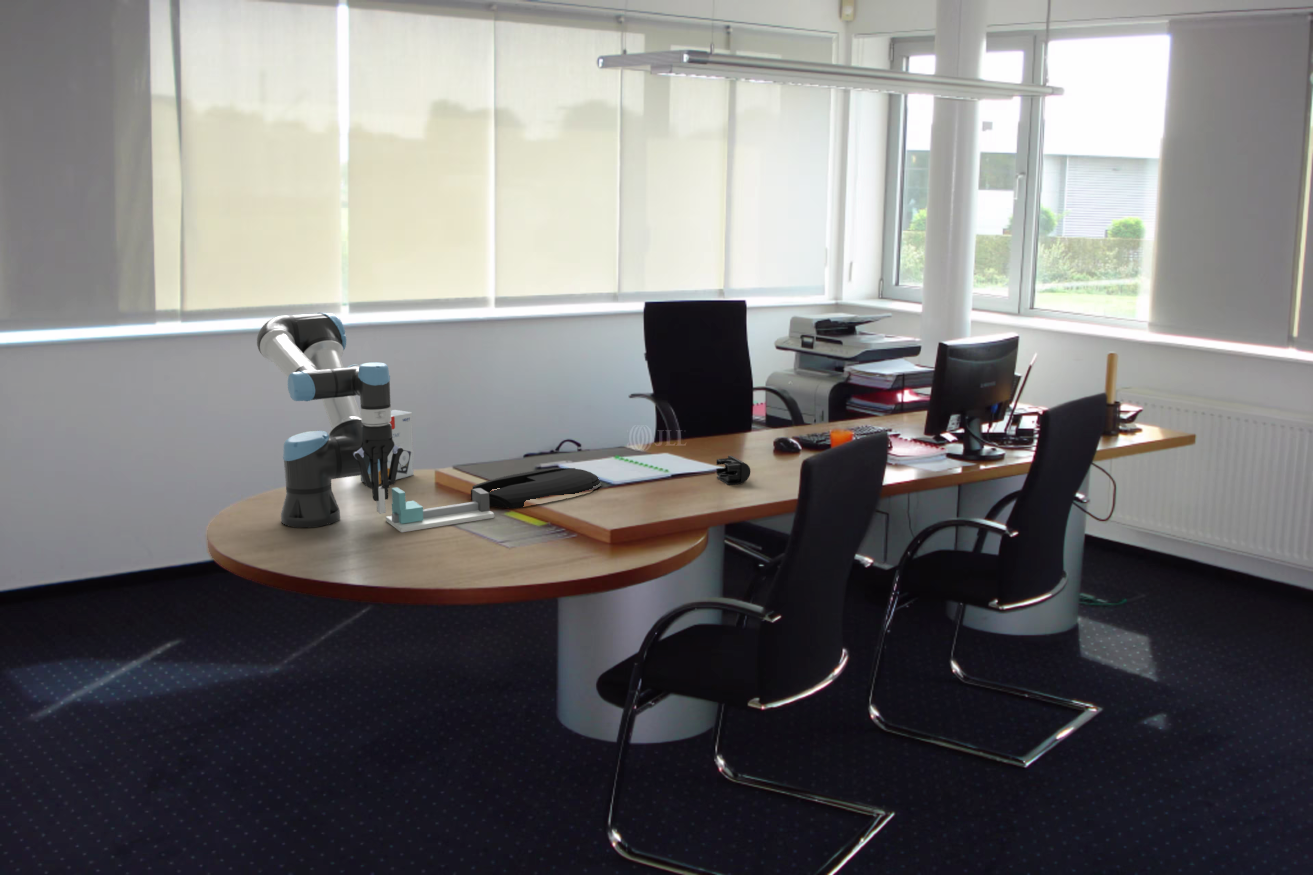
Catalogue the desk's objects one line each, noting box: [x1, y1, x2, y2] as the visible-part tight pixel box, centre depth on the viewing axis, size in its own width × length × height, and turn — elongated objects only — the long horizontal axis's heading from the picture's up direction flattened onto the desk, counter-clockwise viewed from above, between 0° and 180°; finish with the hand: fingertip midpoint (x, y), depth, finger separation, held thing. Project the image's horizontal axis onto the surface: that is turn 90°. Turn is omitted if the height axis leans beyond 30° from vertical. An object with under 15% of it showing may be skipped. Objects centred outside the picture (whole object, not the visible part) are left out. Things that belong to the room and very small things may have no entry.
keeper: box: [391, 487, 424, 524], centre depth 312 cm, size 6×7×8 cm
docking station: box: [470, 467, 600, 510], centre depth 346 cm, size 25×40×5 cm, turn 130°
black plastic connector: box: [715, 455, 751, 486], centre depth 358 cm, size 10×7×7 cm
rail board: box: [385, 488, 495, 533], centre depth 318 cm, size 26×12×6 cm, turn 121°
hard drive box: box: [360, 409, 415, 485], centre depth 358 cm, size 16×8×20 cm, turn 148°
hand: (381, 512), depth 309 cm, fingers closed
